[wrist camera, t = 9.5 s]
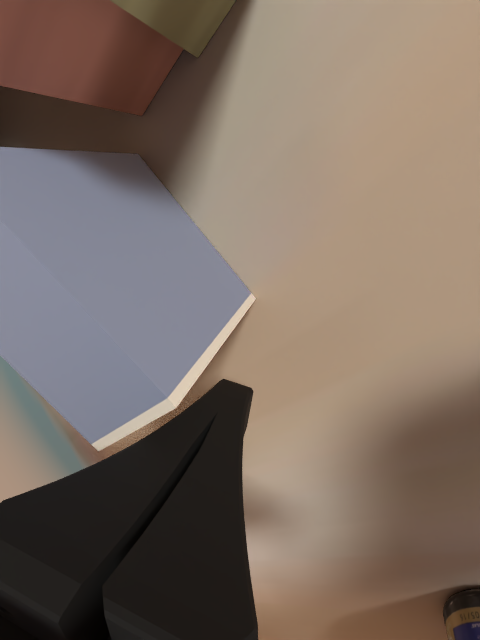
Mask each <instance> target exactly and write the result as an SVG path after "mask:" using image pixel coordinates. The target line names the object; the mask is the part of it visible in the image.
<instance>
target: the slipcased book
mask: <svg viewBox="0 0 480 640" xmlns="http://www.w3.org/2000/svg"><path fill="white" fill-rule="evenodd" d="M255 300H256V298H255V297H254V296H253V295H252V293H251V292H250V291H249V290H248V288H247V287H246V286H245V285H244V283H243V282H242V281H241V280H240V279H239V277H238V276H237V275H236V274H235V272H234V271H233V270H232V269H231V268H230V266H229V265H228V264H227V263H226V261H225V260H224V259H223V258H222V256H221V255H220V254H219V253H218V252H217V250H216V249H215V248H214V247H213V245H212V244H211V243H210V242H209V240H208V239H207V238H206V237H205V236H204V234H203V233H202V232H201V231H200V229H199V228H198V227H197V226H196V225H195V223H194V222H193V221H192V220H191V218H190V217H189V216H188V215H187V213H186V212H185V211H184V210H183V209H182V207H181V206H180V205H179V204H178V202H177V201H176V200H175V199H174V198H173V196H172V195H171V194H170V193H169V191H168V190H167V189H166V188H165V186H164V185H163V184H162V183H161V182H160V180H159V179H158V178H157V177H156V175H155V174H154V173H153V172H152V170H151V169H150V168H149V167H148V166H147V164H146V163H145V162H144V161H143V159H142V158H141V157H140V156H139V155H138V154H131V153H111V152H92V151H72V150H53V149H33V148H14V147H0V355H1V356H2V357H3V358H4V359H5V360H6V361H7V362H8V363H9V364H10V365H11V366H12V367H13V368H14V369H15V370H16V371H17V372H18V373H19V374H20V375H21V376H22V377H23V378H24V379H25V380H26V381H27V382H28V383H29V384H30V385H31V386H32V387H33V388H34V389H35V390H36V391H37V392H38V393H39V394H40V395H41V396H42V397H43V398H44V399H45V400H46V401H47V402H48V403H50V404H51V405H52V406H53V407H54V408H55V409H56V410H57V411H58V412H59V413H60V414H61V415H62V416H63V417H64V418H65V419H66V420H67V421H68V422H69V423H70V424H71V425H72V426H73V427H74V428H75V429H76V430H77V431H78V432H79V433H80V434H81V435H82V436H83V437H84V438H85V439H86V440H87V441H88V442H89V443H90V444H91V445H92V446H93V447H94V448H95V449H96V450H97V451H98V452H99V451H100V450H102V449H104V448H106V447H107V446H109V445H111V444H113V443H115V442H116V441H118V440H120V439H122V438H124V437H125V436H127V435H129V434H131V433H132V432H134V431H136V430H138V429H140V428H141V427H143V426H145V425H147V424H149V423H150V422H152V421H154V420H156V419H157V418H159V417H161V416H163V415H165V414H166V413H168V412H170V411H172V410H173V409H175V408H177V406H178V405H179V404H180V402H181V401H182V399H183V398H184V397H185V395H186V394H187V393H188V391H189V390H190V389H191V387H192V386H193V384H194V383H195V382H196V380H197V379H198V378H199V376H200V375H201V373H202V372H203V371H204V369H205V368H206V367H207V365H208V364H209V363H210V361H211V360H212V358H213V357H214V356H215V354H216V353H217V352H218V350H219V349H220V347H221V346H222V345H223V343H224V342H225V341H226V339H227V338H228V336H229V335H230V334H231V332H232V331H233V330H234V328H235V327H236V326H237V324H238V323H239V321H240V320H241V319H242V317H243V316H244V315H245V313H246V312H247V310H248V309H249V308H250V306H251V305H252V304H253V302H254V301H255Z"/></svg>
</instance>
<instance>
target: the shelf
mask: <svg viewBox="0 0 480 640" xmlns="http://www.w3.org/2000/svg"><path fill="white" fill-rule="evenodd" d="M235 1H236V0H0V86H4V87H9V88H14V89H18V90H23V91H28V92H32V93H37V94H42V95H46V96H51V97H56V98H60V99H65V100H70V101H74V102H79V103H84V104H88V105H93V106H98V107H102V108H107V109H112V110H116V111H121V112H126V113H130V114H135V115H140V116H142V115H143V114H144V112H145V110H146V109H147V107H148V105H149V104H150V102H151V101H152V99H153V97H154V96H155V94H156V93H157V91H158V89H159V88H160V86H161V85H162V83H163V81H164V80H165V78H166V77H167V75H168V73H169V72H170V70H171V69H172V67H173V65H174V64H175V62H176V61H177V59H178V57H179V56H180V54H181V52H182V51H183V49H185V50H186V51H188V52H189V53H191V54H192V55H194V56H195V57H197V58H198V57H199V56H200V54H201V53H202V51H203V50H204V48H205V47H206V45H207V44H208V42H209V41H210V39H211V38H212V36H213V35H214V33H215V32H216V30H217V29H218V27H219V25H220V24H221V22H222V21H223V19H224V18H225V16H226V15H227V13H228V12H229V10H230V9H231V7H232V6H233V4H234V3H235Z"/></svg>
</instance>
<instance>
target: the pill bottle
mask: <svg viewBox="0 0 480 640" xmlns="http://www.w3.org/2000/svg"><path fill="white" fill-rule="evenodd" d="M443 616H444V622H445V625H446V631H447V636H448V640H480V590H475V589H472V590H466V591H463V592H460V593H456V594H455V595H453V596H451V597H450V598H449V599H448V601H447V602H446V604H445V606H444V609H443Z"/></svg>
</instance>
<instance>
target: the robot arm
mask: <svg viewBox="0 0 480 640" xmlns="http://www.w3.org/2000/svg"><path fill="white" fill-rule="evenodd" d="M252 396H253V390H252V388H250V387H247V386H244V385H241V384H238V383H235V382H232V381H228V380H225V379H223V380H220V381H219V382H218V383H217V384H216V385H215V386H214V387H213V388H212V389H210V390H209V391H208V392H207V393H206V394H205V395H203V396H202V397H201V398H200V399H199V400H197V401H196V402H195V403H193V404H192V405H191V406H190V407H188V408H187V409H186V410H184V411H183V412H182V413H180V414H179V415H178V416H176V417H175V418H173V419H172V420H171V421H169V422H168V423H166V424H165V425H163V426H162V427H160V428H159V429H157V430H156V431H154V432H153V433H151V434H150V435H148V436H146V437H145V438H143V439H141V440H140V441H138V442H136V443H134V444H133V445H131V446H129V447H127V448H125V449H124V450H122V451H120V452H118V453H116V454H114V455H112V456H110V457H108V458H106V459H104V460H102V461H100V462H98V463H96V464H94V465H92V466H89V467H87V468H85V469H83V470H80V471H78V472H76V473H74V474H71V475H69V476H67V477H64V478H62V479H60V480H57V481H55V482H52V483H50V484H47V485H44V486H42V487H39V488H36V489H34V490H31V491H28V492H25V493H23V494H20V495H17V496H15V497H12V498H9V499H6V500H3V501H2V502H1V503H0V640H258V624H257V617H256V611H255V604H254V598H253V591H252V584H251V577H250V569H249V561H248V553H247V543H246V532H245V521H244V508H243V487H242V452H243V437H244V434H245V430H246V427H247V423H248V418H249V412H250V407H251V402H252Z"/></svg>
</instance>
